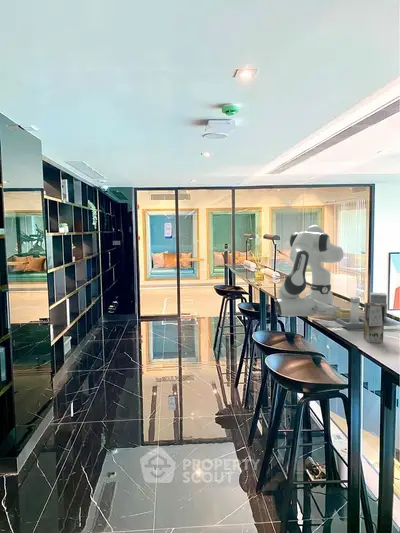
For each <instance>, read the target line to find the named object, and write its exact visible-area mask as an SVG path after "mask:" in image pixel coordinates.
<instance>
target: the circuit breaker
mask: <svg viewBox="0 0 400 533" xmlns="http://www.w3.org/2000/svg"><path fill="white" fill-rule="evenodd" d="M387 297H388V294H387V293H385V292H370V297H369V303H380V304H382V305H384V306H385V313H384V322H386V321H387V319H388V318H387V315H388V313H387V312H388V302H387V299H388V298H387Z"/></svg>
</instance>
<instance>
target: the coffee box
mask: <svg viewBox="0 0 400 533" xmlns="http://www.w3.org/2000/svg"><path fill="white" fill-rule="evenodd" d="M363 310H364V313H363V319H364V330H363V338H364V339H365V340H366V341H367V342H368V343H379V344H383V343H384V332H385V331H384V330H385V327H384V326H385V321H384V313H385V306H384V305H382V304H380V303H370V302H364V309H363Z"/></svg>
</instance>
